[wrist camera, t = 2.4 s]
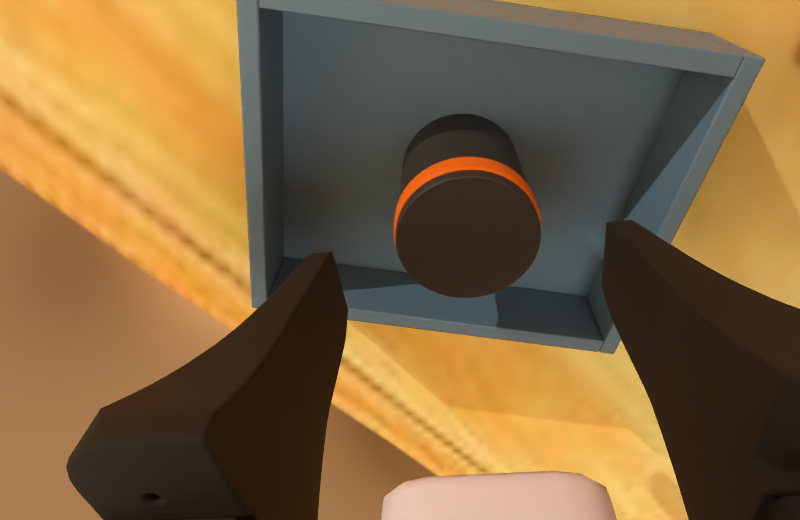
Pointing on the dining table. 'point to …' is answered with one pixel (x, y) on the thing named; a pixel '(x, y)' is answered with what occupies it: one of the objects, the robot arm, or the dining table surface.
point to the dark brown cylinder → (465, 209)
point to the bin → (489, 98)
